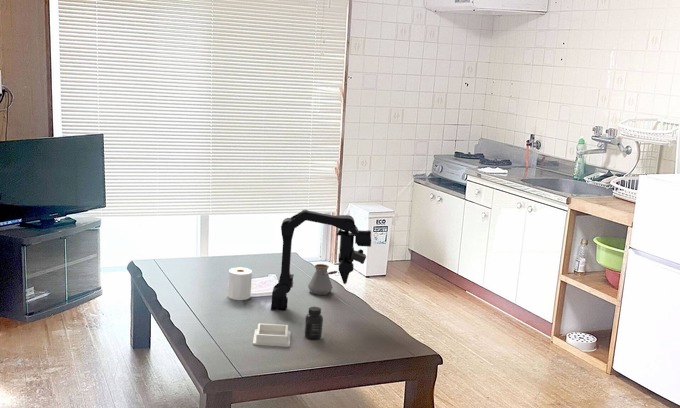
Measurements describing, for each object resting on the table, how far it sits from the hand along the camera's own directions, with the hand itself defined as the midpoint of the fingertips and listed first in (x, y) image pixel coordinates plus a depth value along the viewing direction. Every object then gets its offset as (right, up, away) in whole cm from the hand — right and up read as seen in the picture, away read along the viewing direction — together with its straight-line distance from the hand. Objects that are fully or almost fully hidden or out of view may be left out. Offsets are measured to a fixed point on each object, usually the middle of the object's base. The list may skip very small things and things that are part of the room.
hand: (344, 280), depth 314 cm
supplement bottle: (-13, -20, -26) cm, 35 cm away
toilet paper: (-47, -9, +13) cm, 50 cm away
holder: (-29, -19, -31) cm, 46 cm away
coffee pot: (-9, -10, +23) cm, 27 cm away
